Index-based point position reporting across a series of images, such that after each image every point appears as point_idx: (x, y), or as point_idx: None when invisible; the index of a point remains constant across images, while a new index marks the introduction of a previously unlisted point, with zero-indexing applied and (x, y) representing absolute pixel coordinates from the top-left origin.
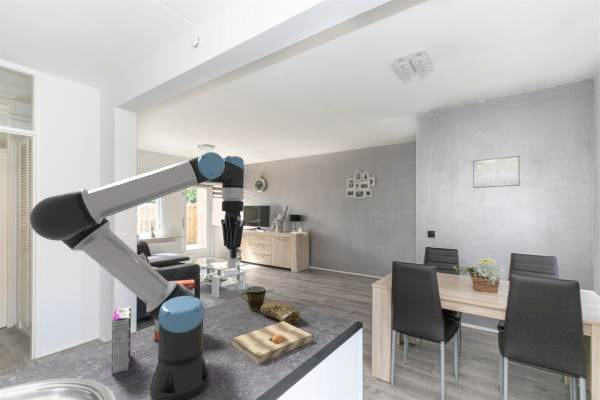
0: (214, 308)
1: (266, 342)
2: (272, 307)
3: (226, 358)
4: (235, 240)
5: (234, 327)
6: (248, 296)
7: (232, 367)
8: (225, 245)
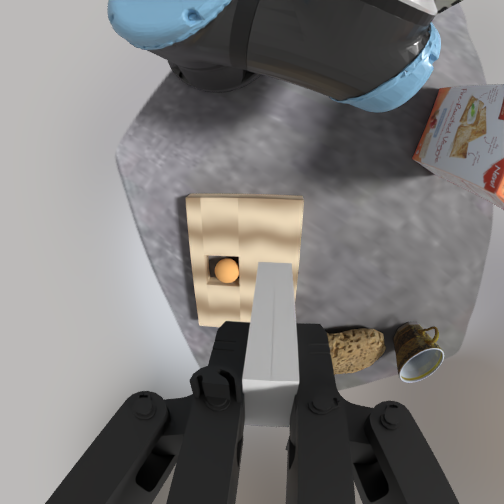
0: (478, 273)
1: (227, 245)
2: (344, 348)
3: (255, 153)
4: (82, 460)
5: (376, 250)
6: (424, 339)
7: (213, 146)
8: (369, 411)
